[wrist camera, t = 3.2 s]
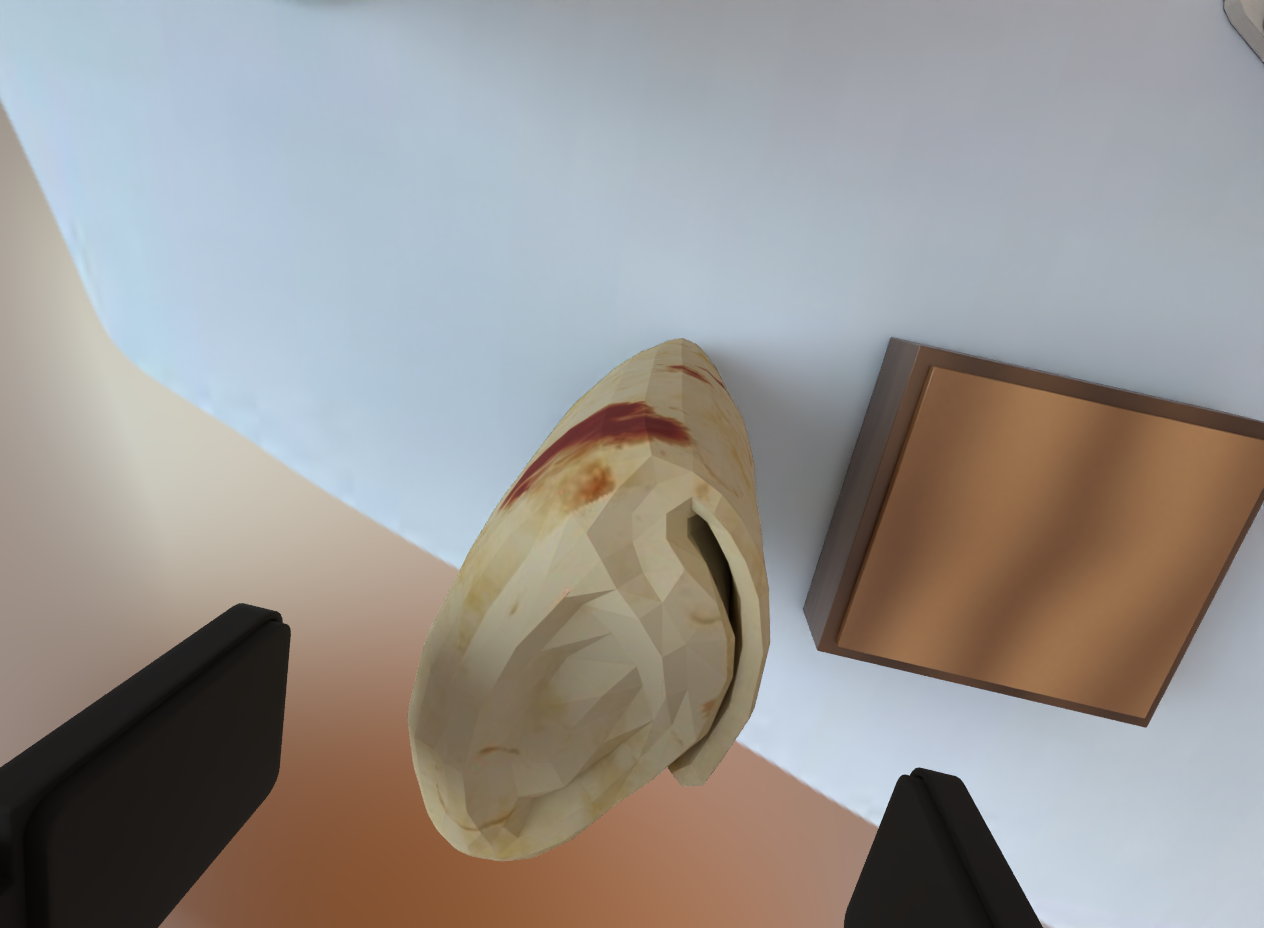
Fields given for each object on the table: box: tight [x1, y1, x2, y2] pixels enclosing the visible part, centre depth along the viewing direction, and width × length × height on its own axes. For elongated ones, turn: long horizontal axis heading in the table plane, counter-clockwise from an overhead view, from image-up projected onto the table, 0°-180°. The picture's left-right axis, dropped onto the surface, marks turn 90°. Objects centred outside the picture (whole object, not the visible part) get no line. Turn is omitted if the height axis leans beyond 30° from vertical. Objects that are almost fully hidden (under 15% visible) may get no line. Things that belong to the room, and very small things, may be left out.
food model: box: [407, 338, 770, 861], centre depth 20 cm, size 10×7×20 cm
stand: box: [803, 337, 1264, 727], centre depth 27 cm, size 14×13×4 cm
